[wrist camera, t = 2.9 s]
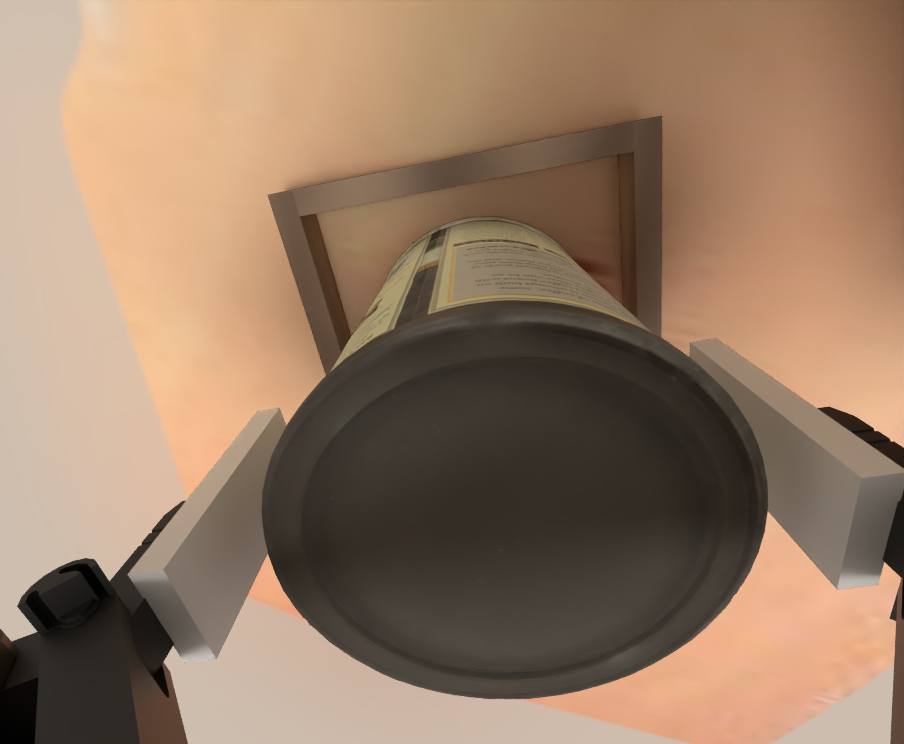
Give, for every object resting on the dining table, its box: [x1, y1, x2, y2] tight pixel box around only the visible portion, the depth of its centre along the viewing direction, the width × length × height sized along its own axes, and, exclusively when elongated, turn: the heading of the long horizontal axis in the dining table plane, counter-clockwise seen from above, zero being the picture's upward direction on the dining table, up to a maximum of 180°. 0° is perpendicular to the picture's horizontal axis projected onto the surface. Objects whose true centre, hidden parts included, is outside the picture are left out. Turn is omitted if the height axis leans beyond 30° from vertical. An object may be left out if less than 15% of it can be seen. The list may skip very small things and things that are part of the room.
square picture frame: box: [268, 116, 662, 376], centre depth 21 cm, size 15×15×2 cm
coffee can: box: [261, 216, 768, 699], centre depth 16 cm, size 10×10×14 cm
